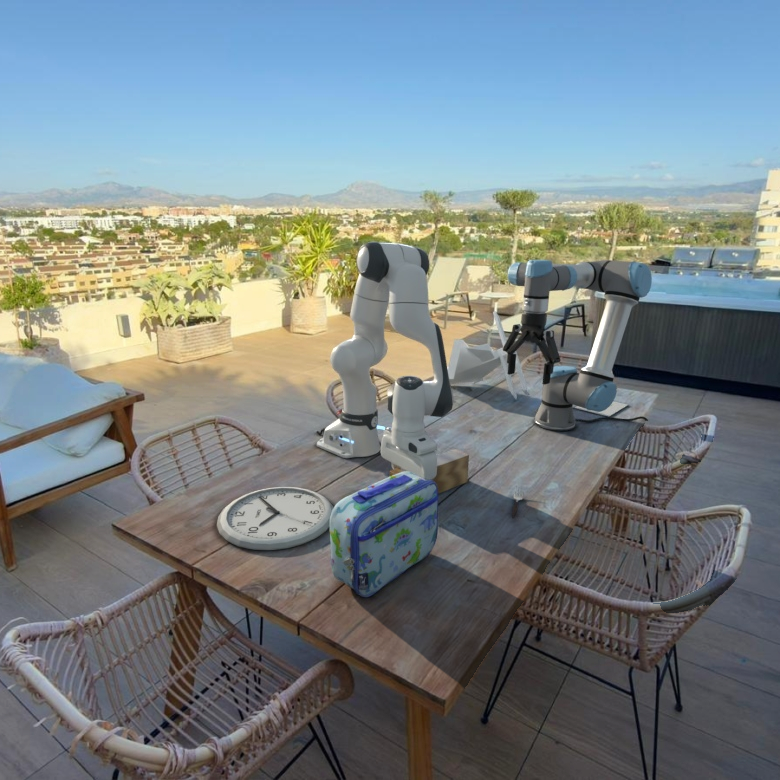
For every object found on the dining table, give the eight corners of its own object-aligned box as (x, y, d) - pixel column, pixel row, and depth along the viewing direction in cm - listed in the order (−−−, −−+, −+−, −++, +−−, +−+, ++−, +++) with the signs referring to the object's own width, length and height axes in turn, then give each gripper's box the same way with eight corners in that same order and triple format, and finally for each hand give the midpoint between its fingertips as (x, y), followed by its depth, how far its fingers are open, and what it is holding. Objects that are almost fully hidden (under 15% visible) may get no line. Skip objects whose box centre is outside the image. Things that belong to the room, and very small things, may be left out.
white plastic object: (461, 429, 252) (437, 405, 227) (444, 352, 274) (420, 323, 250) (535, 404, 240) (518, 377, 215) (510, 326, 262) (492, 293, 237)
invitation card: (608, 416, 214) (573, 407, 224) (608, 416, 214) (573, 408, 224) (628, 404, 229) (594, 396, 238) (628, 405, 229) (594, 397, 238)
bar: (453, 475, 162) (455, 448, 159) (467, 482, 157) (469, 454, 155) (388, 500, 147) (389, 471, 144) (401, 508, 142) (402, 478, 140)
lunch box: (357, 610, 104) (357, 517, 98) (324, 584, 111) (322, 496, 105) (442, 556, 121) (446, 474, 115) (408, 536, 129) (411, 459, 122)
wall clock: (333, 542, 123) (202, 546, 121) (333, 547, 124) (203, 552, 121) (335, 482, 152) (229, 485, 149) (335, 487, 152) (230, 490, 150)
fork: (507, 519, 137) (507, 512, 137) (515, 491, 152) (515, 485, 151) (517, 521, 136) (518, 514, 136) (524, 493, 151) (524, 487, 150)
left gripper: (375, 427, 147) (375, 472, 151) (423, 451, 132) (421, 500, 136) (393, 422, 151) (392, 466, 155) (442, 446, 135) (439, 493, 139)
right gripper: (495, 307, 167) (490, 371, 173) (562, 318, 148) (554, 390, 155) (510, 305, 171) (505, 368, 178) (577, 316, 153) (569, 385, 159)
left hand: (406, 482), depth 145 cm, fingers open, 6 cm apart
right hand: (527, 378), depth 166 cm, fingers open, 13 cm apart
